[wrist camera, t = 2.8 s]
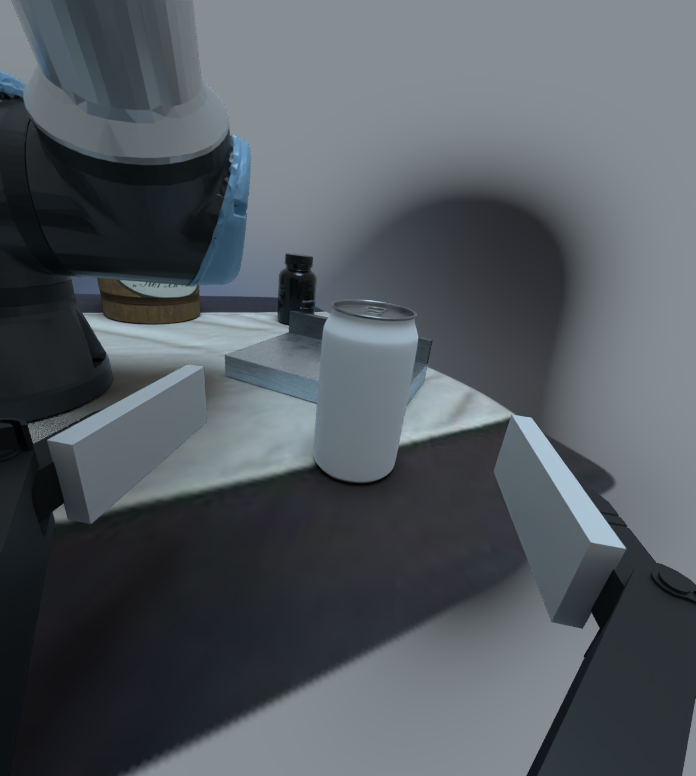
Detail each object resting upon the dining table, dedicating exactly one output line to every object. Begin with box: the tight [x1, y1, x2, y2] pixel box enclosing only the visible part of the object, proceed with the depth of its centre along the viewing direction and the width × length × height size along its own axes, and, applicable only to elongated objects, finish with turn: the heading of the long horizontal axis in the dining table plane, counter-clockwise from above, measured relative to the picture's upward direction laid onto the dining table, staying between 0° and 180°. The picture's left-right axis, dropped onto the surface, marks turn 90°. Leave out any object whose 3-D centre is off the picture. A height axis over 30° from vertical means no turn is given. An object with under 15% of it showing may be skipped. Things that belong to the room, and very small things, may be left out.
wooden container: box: [97, 278, 200, 324], centre depth 57 cm, size 15×15×22 cm
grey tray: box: [225, 311, 433, 406], centre depth 42 cm, size 20×14×6 cm
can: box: [314, 300, 418, 483], centre depth 25 cm, size 6×6×12 cm
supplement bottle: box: [278, 253, 317, 324], centre depth 64 cm, size 7×7×12 cm
